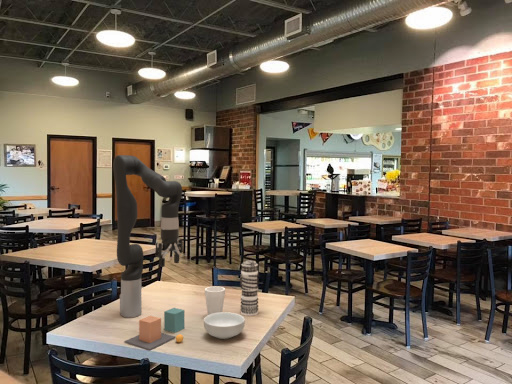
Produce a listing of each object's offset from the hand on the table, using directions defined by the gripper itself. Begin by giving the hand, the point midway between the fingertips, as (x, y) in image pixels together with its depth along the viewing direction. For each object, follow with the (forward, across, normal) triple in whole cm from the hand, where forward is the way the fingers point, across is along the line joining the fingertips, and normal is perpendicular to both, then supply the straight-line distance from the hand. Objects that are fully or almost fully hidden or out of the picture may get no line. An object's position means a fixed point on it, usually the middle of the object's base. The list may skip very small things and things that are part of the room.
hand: (169, 264), depth 177 cm
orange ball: (+27, +9, +15) cm, 32 cm away
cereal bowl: (+27, -6, +25) cm, 38 cm away
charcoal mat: (+27, +14, +4) cm, 31 cm away
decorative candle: (+27, -35, +19) cm, 48 cm away
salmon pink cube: (+27, +14, +4) cm, 31 cm away
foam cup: (+28, -22, +8) cm, 36 cm away
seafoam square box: (+27, 0, +4) cm, 28 cm away
